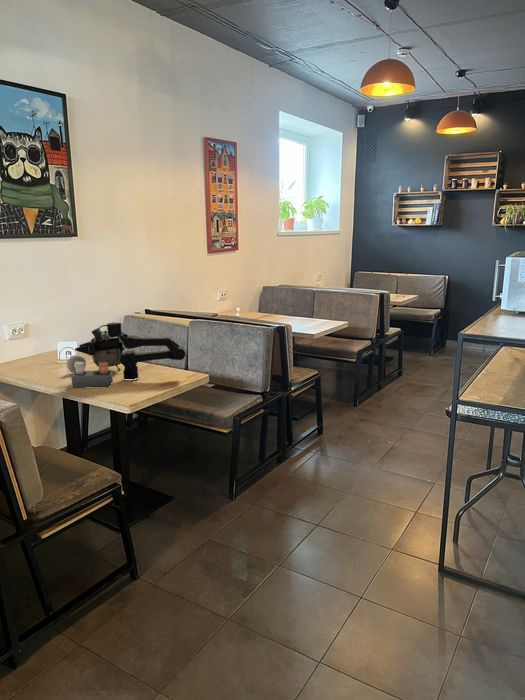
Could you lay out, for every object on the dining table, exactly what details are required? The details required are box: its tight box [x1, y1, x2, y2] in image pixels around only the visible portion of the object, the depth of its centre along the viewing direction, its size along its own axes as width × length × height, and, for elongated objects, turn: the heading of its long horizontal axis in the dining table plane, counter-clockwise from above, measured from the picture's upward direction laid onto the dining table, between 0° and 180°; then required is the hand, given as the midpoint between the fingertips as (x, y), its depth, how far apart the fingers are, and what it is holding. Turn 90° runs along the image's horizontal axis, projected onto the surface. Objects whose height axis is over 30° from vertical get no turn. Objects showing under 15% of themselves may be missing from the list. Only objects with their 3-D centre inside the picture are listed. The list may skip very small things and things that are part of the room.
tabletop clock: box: [91, 324, 123, 372], centre depth 270 cm, size 14×9×25 cm, turn 118°
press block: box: [71, 369, 114, 389], centre depth 246 cm, size 17×9×6 cm, turn 96°
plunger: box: [74, 361, 86, 375], centre depth 244 cm, size 4×4×6 cm
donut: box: [66, 354, 87, 374], centre depth 267 cm, size 10×4×10 cm, turn 138°
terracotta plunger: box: [98, 362, 109, 374], centre depth 245 cm, size 4×4×6 cm
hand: (77, 347), depth 251 cm, fingers open, 9 cm apart
